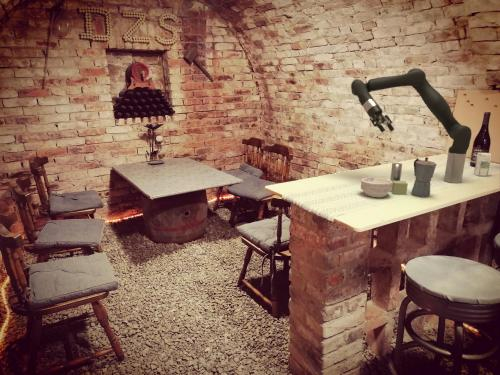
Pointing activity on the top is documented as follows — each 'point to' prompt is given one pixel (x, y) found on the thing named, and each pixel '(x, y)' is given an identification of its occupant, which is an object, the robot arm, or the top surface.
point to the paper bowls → (376, 186)
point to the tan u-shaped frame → (399, 187)
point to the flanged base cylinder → (396, 172)
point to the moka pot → (423, 177)
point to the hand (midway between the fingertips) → (388, 130)
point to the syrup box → (482, 164)
